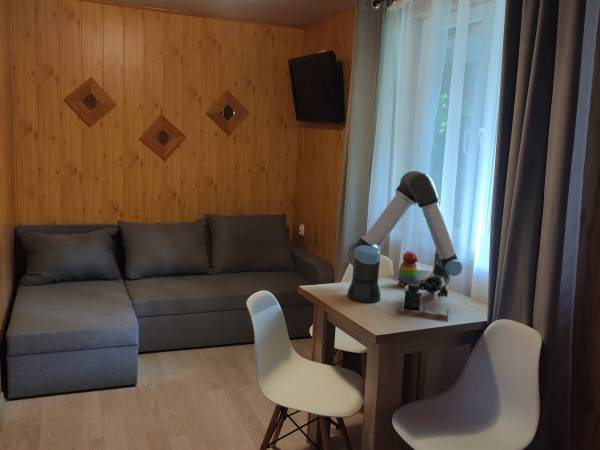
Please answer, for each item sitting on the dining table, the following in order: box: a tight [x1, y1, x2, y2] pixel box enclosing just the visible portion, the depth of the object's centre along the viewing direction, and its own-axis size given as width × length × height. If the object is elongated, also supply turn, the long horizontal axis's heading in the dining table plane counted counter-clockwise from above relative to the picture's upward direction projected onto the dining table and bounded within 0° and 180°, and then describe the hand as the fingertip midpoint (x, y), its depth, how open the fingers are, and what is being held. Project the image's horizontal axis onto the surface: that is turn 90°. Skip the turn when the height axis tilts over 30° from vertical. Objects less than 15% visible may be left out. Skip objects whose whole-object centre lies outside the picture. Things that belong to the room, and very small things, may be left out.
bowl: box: [415, 262, 434, 282], centre depth 311 cm, size 16×16×7 cm
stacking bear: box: [397, 250, 419, 289], centre depth 294 cm, size 11×10×18 cm
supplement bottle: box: [402, 283, 422, 311], centre depth 252 cm, size 7×7×12 cm
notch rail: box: [396, 302, 450, 321], centre depth 251 cm, size 21×10×2 cm, turn 75°
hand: (419, 293), depth 257 cm, fingers open, 13 cm apart
